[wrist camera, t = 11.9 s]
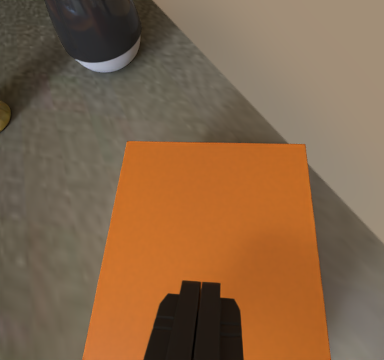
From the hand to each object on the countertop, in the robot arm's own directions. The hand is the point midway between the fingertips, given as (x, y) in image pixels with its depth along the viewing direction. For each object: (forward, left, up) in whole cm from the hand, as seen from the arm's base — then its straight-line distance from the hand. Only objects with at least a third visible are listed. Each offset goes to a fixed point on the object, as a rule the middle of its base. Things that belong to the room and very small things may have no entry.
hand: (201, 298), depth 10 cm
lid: (-1, -1, -5) cm, 6 cm away
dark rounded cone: (-10, -32, -14) cm, 36 cm away
